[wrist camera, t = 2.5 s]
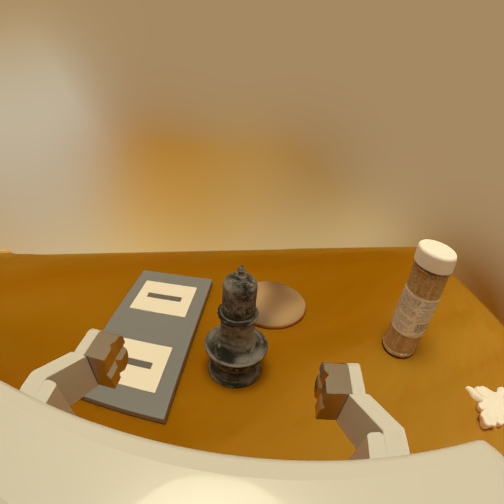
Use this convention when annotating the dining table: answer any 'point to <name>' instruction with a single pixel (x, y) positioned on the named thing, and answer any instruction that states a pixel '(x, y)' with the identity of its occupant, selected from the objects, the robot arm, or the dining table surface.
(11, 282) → the dining table surface
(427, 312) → the sprinkles bottle
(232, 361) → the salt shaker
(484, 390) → the acanthus leaf ornament
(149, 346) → the label board
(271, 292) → the coaster
